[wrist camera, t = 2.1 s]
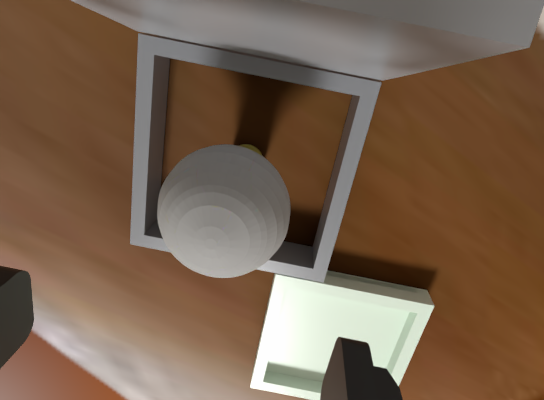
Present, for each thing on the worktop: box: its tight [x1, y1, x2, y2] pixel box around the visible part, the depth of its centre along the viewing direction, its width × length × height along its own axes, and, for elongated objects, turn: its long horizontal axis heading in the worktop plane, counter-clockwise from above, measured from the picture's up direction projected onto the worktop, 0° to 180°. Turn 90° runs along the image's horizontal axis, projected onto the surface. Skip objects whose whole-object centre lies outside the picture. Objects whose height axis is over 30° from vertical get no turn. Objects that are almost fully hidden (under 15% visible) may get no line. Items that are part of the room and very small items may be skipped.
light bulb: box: [157, 144, 290, 278], centre depth 19 cm, size 6×5×10 cm
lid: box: [71, 0, 544, 81], centre depth 13 cm, size 12×12×1 cm
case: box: [130, 33, 381, 283], centre depth 22 cm, size 12×12×2 cm
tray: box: [250, 270, 434, 400], centre depth 27 cm, size 10×10×2 cm
